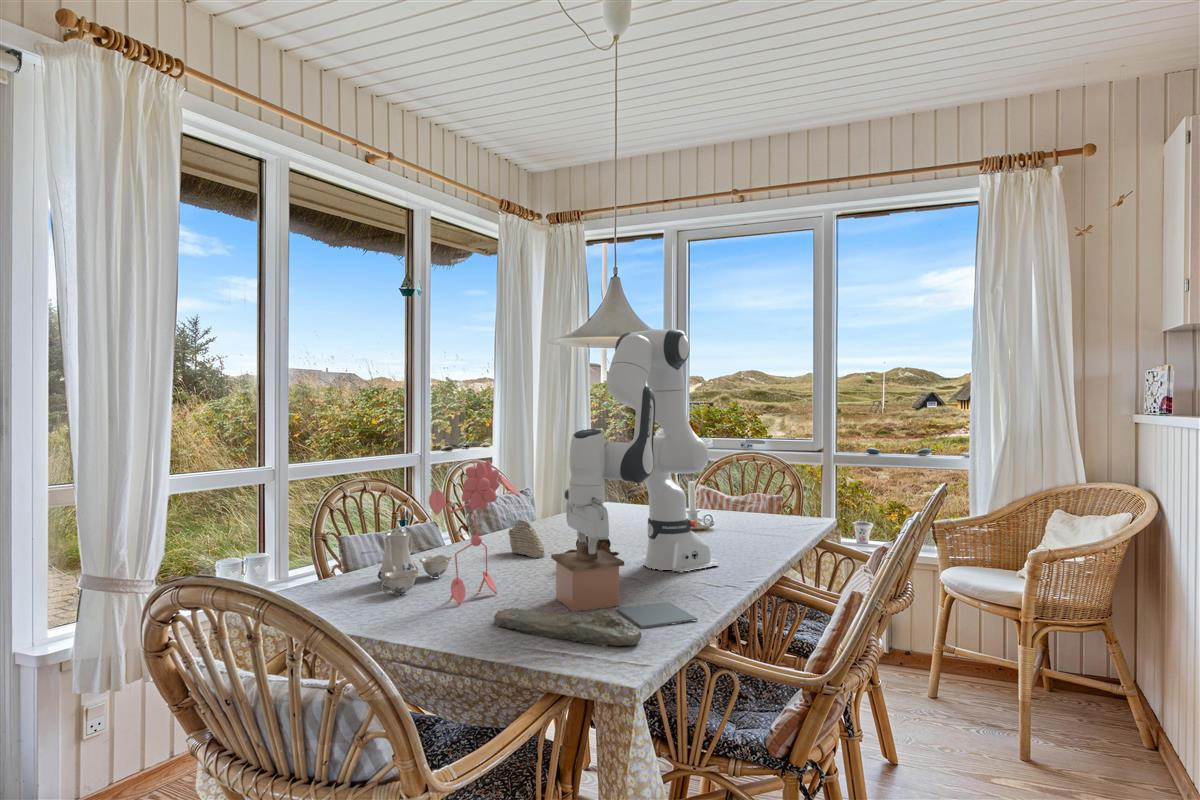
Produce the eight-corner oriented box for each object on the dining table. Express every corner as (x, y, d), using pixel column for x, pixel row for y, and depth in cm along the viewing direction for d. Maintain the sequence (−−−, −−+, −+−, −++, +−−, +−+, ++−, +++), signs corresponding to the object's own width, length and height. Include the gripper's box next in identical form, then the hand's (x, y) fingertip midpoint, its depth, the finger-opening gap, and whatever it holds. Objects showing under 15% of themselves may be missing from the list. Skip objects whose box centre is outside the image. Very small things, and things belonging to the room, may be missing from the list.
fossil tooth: (534, 563, 221) (502, 551, 231) (549, 558, 226) (517, 547, 236) (536, 527, 220) (503, 517, 230) (550, 523, 225) (518, 514, 235)
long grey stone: (509, 622, 165) (485, 637, 156) (507, 599, 165) (483, 614, 156) (649, 636, 150) (631, 654, 141) (647, 611, 150) (629, 627, 141)
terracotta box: (600, 593, 183) (600, 554, 183) (618, 606, 172) (619, 565, 172) (556, 598, 179) (556, 558, 179) (572, 611, 168) (572, 569, 168)
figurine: (419, 607, 171) (422, 462, 170) (500, 585, 190) (503, 455, 190) (459, 622, 161) (462, 468, 160) (540, 597, 180) (543, 460, 180)
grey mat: (668, 604, 174) (668, 601, 174) (697, 621, 161) (697, 618, 161) (616, 610, 169) (616, 608, 169) (641, 628, 156) (641, 625, 156)
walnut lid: (602, 553, 185) (602, 536, 185) (624, 565, 172) (624, 547, 172) (551, 558, 179) (551, 540, 179) (569, 570, 166) (570, 551, 166)
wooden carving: (563, 572, 206) (563, 537, 206) (563, 568, 210) (563, 534, 210) (619, 571, 206) (619, 537, 206) (618, 567, 211) (619, 534, 211)
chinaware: (410, 607, 177) (417, 541, 177) (350, 596, 180) (356, 531, 180) (455, 578, 204) (461, 521, 204) (402, 569, 208) (407, 513, 207)
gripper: (615, 500, 167) (615, 559, 167) (584, 489, 186) (584, 542, 186) (590, 502, 165) (590, 561, 165) (561, 490, 183) (561, 544, 184)
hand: (587, 551), depth 175 cm, fingers closed on walnut lid, 4 cm apart
